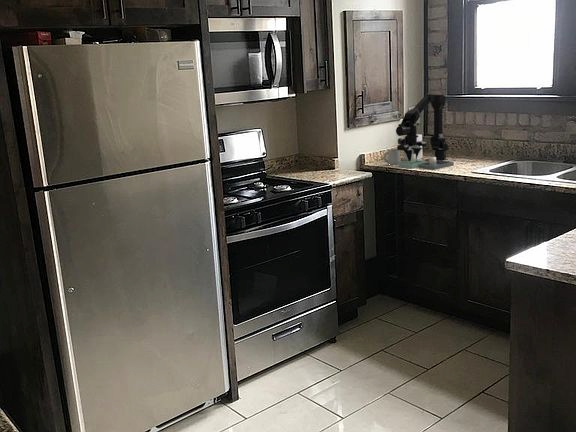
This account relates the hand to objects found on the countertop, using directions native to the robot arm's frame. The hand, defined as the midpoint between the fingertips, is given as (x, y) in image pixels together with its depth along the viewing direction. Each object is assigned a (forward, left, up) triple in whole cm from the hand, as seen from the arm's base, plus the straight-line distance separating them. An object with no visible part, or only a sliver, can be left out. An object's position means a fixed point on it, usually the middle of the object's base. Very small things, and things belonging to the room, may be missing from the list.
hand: (412, 160), depth 368 cm
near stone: (0, 0, -1) cm, 1 cm away
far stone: (-6, +10, -3) cm, 12 cm away
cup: (+2, -15, -4) cm, 16 cm away
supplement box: (-20, -19, -4) cm, 29 cm away
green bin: (0, 0, -4) cm, 4 cm away
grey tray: (-6, +13, -4) cm, 15 cm away
